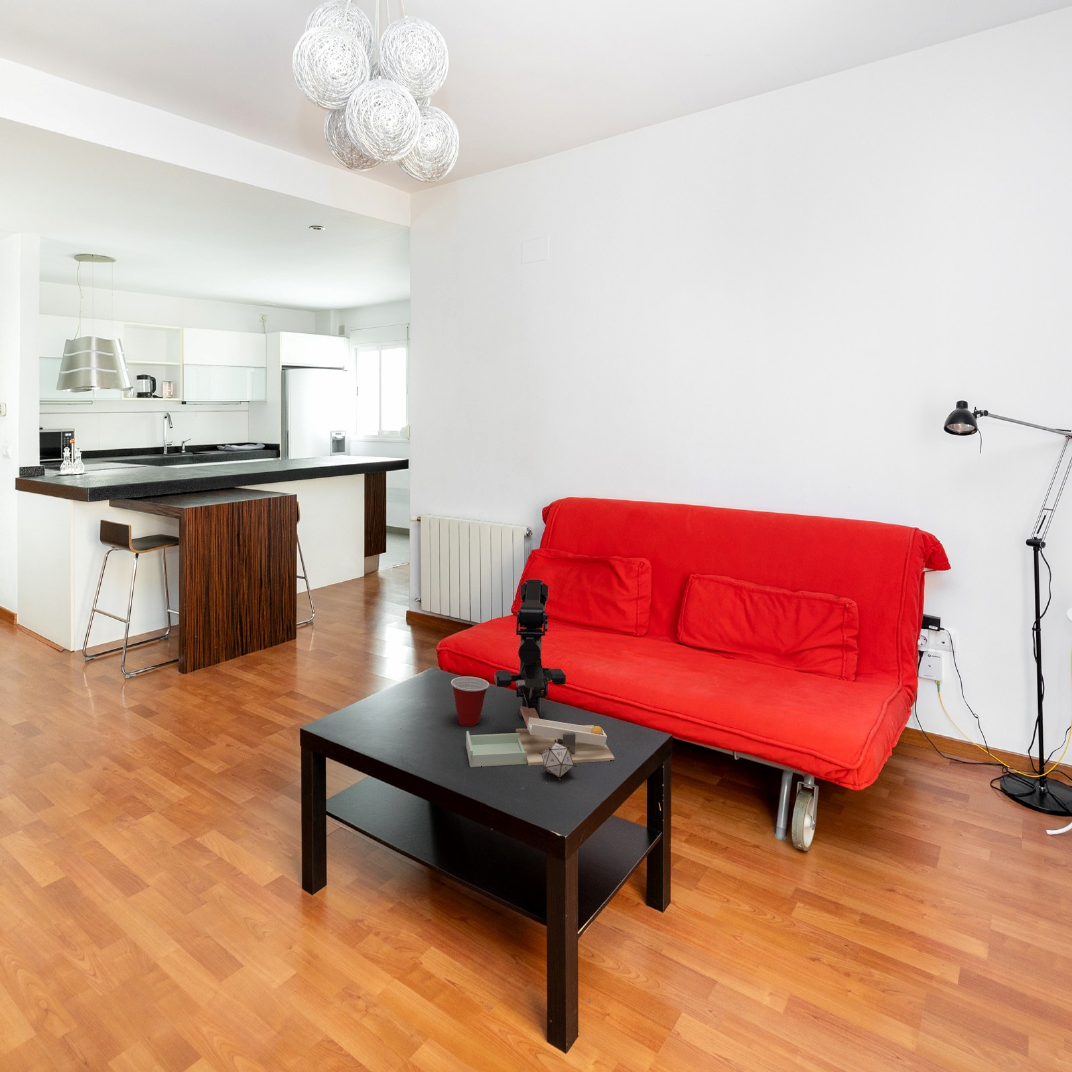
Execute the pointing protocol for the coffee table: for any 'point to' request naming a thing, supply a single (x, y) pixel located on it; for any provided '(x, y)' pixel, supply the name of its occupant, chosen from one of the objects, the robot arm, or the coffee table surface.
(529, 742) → the lever stand
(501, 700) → the coffee table surface
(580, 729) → the lever
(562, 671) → the robot arm
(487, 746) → the tray
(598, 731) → the ball
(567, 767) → the game die
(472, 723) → the plastic cup
